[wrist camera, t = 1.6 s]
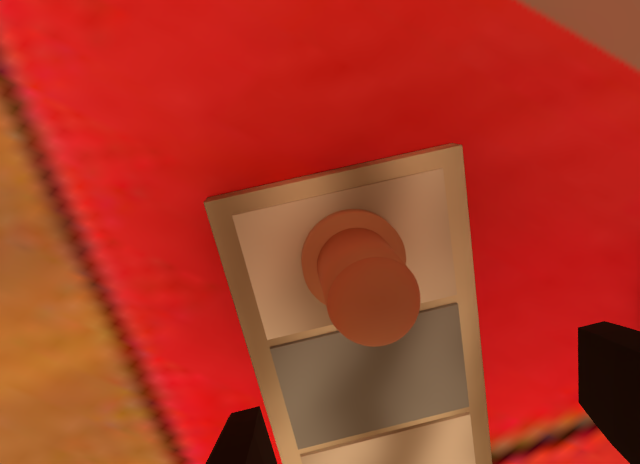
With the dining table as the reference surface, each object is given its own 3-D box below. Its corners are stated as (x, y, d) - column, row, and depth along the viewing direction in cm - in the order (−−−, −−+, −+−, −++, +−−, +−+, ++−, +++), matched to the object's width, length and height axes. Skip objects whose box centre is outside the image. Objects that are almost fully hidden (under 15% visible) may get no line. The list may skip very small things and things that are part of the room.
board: (452, 143, 18) (464, 145, 17) (494, 560, 26) (504, 580, 25) (207, 197, 17) (202, 203, 16) (328, 604, 26) (331, 627, 24)
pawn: (392, 198, 17) (446, 238, 12) (406, 290, 18) (460, 364, 13) (291, 221, 17) (298, 272, 12) (312, 313, 18) (328, 396, 13)
